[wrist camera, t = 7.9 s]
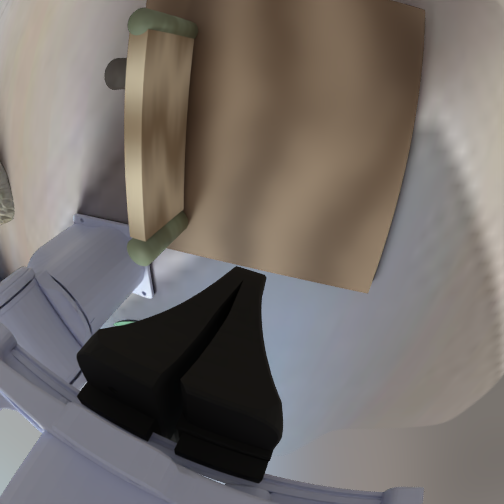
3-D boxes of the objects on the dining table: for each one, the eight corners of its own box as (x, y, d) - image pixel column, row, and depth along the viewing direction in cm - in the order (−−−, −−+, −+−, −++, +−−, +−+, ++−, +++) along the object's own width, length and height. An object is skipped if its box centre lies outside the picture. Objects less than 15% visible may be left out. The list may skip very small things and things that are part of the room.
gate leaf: (188, 234, 22) (153, 269, 18) (165, 228, 23) (128, 261, 19) (202, 20, 14) (158, 5, 10) (174, 22, 14) (126, 11, 10)
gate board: (156, 238, 25) (122, 269, 21) (154, 2, 15) (109, -10, 11) (367, 285, 22) (368, 331, 17) (421, 13, 11) (444, -9, 7)
